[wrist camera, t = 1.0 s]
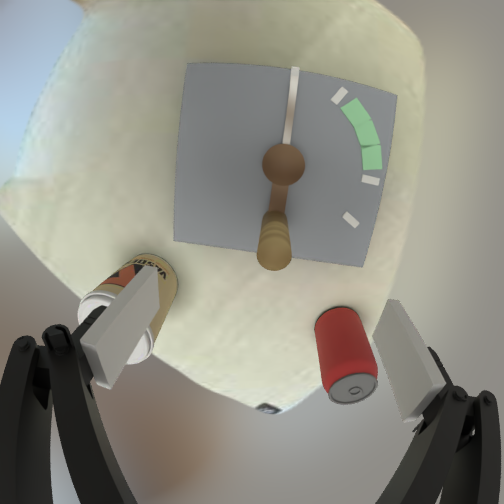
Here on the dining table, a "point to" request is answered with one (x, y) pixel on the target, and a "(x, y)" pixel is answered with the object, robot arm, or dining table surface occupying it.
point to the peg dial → (280, 193)
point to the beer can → (345, 357)
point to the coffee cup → (119, 281)
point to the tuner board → (268, 135)
